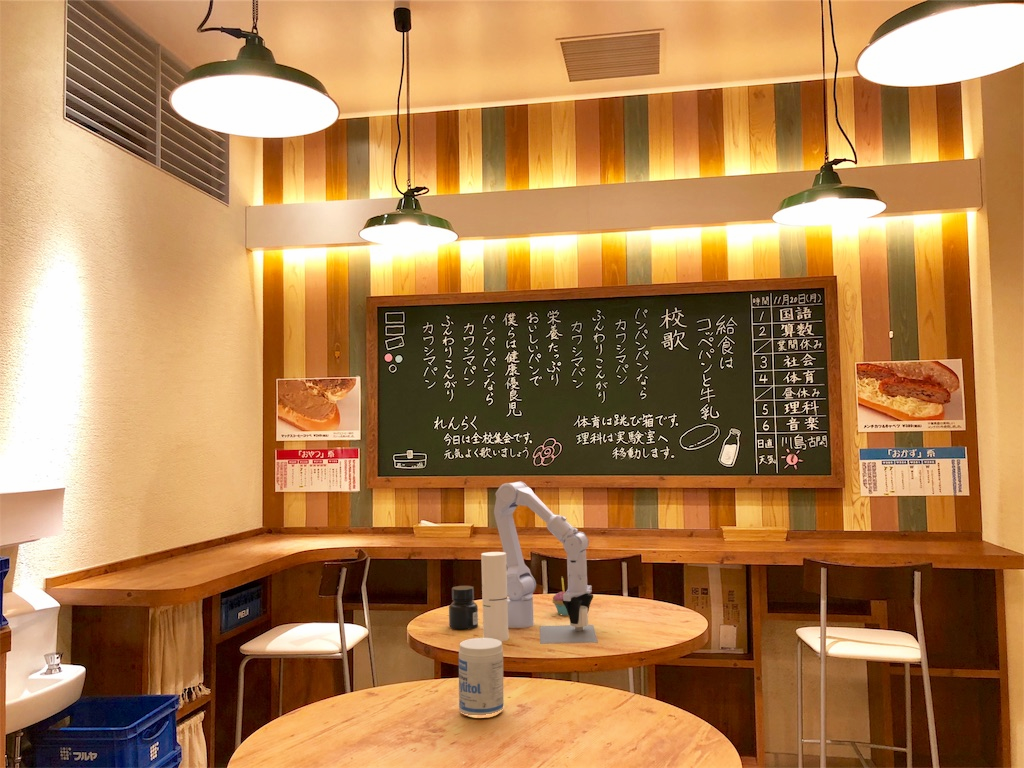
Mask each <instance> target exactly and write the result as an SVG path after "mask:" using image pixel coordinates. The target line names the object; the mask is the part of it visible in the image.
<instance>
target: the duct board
mask: <svg viewBox="0 0 1024 768" xmlns="http://www.w3.org/2000/svg"><path fill="white" fill-rule="evenodd" d="M587 643H588V644H589V643H590V644H591V643H599V641H598V637H597V634H596V630H595V626H594V624H588V626H585V627H573V626H570V624H569V625H568V624H567V625H539V644H542V645H543V644H545V645H546V644H548V645H549V644H587Z"/></svg>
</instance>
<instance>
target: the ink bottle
mask: <svg viewBox="0 0 1024 768" xmlns="http://www.w3.org/2000/svg"><path fill="white" fill-rule="evenodd" d="M474 590H475V589H474V586H471V585H458V586H453V587H452V588H451V598H452V599H451V600H452V602H451V604H450V605H449V606H448V619H449V621H448V625H449V628H451V629H452V630H457V631H465V630H466V631H467V630H472V629H476V628H478V626H479V612H478V611H479V609H478V604H477V603H476V602H475V601H474V600H475V591H474Z"/></svg>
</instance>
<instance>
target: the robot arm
mask: <svg viewBox="0 0 1024 768" xmlns="http://www.w3.org/2000/svg"><path fill="white" fill-rule="evenodd" d="M494 504H495V505H494V509H493V514H494V515H493V516H494V518H495V522H496V527H497V530H498V531H497V532H498V534H499V540H500V542H501V546H502V547H501V548H502V552H505V553H506V566H507V601H508V629H509V628H511V629H513V628H514V629H515V628H518V629H524V628H525V629H526V628H531V627H533V626H534V625H535V622H534V620H535V619H534V599H533V598H534V592H535V590H536V589H537V581H536V579H535V578H534V576H533V574H532V572H531V569H530V568H529V567H528V566H527V565H526V563H525V560H524V556H523V553H522V552H523V551H522V547H521V545H520V541H519V536H518V532H517V527H516V523H515V520H514V516H513V514H514V513H515V510H517V507H518V506H523V507H527V508H528V509H530V510H531V511H532V512H534V514H536V515H537V516H538V518H540V519H542V521H544V522H545V523H546V528H547V530H548V531H549V532H550V533H551V534H552V535H553V536H554V537H555V538H556V539H557V540H558V541H559V542H560V544H562V547H563V549H564V551H565V552H566V567H567V570H566V571H567V589H566V593H564V594H563V604H564V605H565V607H566V609H567V612H568V615H567V616H568V619H569V623H570V622H571V623H572V624H578V621H579V610H580V606H586V607H588V612H589V610H590V607H591V603H592V600H593V598H594V594H592V592H593V590H592V589H593V588H592V587H593V586H592V585H591V584H590V585H588V566H587V563H588V562H587V549H588V548H589V544H590V543H589V541H590V540H589V538H588V536H587V535H586V533H585V532H583V531H579V529H578V528H577V527H574V526H572V525H571V523H569V522H568V521H567V519H568V518H567V517H566V516H565V515H563V516H562V514H555V513H553V511H551V509H550V508H549V507H548V506H547V505H546V504H545V503H544V502H543V501H542V500H541V499H540V498H539V497H538V496H537V494H536V493H534V490H532V488H531V487H529V486H528V485H527V484H526V483H525V482H523V481H515V482H509V483H508V482H506V483H502V484H501V485H500V486H499V487H498V489H497V490H496V492H495V503H494Z"/></svg>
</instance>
